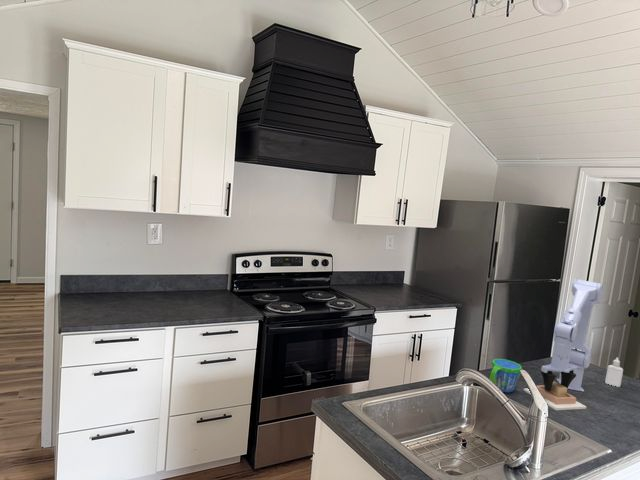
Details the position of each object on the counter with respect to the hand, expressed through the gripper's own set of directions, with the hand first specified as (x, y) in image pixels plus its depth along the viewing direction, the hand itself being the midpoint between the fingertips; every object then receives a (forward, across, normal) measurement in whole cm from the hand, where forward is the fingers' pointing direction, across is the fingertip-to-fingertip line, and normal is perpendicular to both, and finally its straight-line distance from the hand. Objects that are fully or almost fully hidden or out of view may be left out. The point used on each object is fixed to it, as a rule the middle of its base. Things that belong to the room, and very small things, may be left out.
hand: (555, 390), depth 172 cm
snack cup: (+4, -15, +10) cm, 18 cm away
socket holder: (+4, 0, 0) cm, 4 cm away
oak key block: (+3, 0, 0) cm, 3 cm away
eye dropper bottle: (+4, +42, +10) cm, 43 cm away
